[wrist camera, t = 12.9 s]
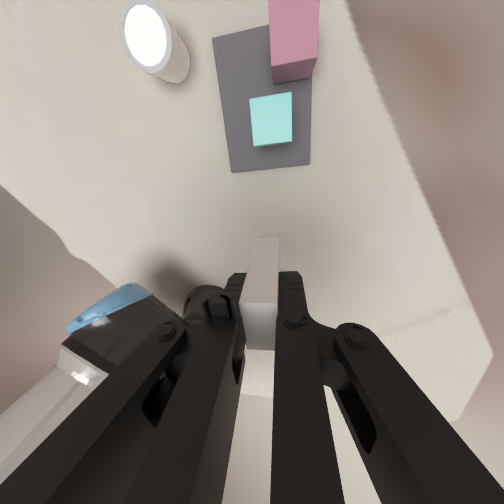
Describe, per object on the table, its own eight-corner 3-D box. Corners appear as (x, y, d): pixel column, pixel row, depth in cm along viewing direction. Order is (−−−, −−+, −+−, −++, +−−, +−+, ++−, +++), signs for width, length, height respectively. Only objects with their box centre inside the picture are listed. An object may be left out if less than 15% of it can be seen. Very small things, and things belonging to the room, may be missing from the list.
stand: (232, 172, 36) (220, 177, 29) (214, 41, 28) (189, 1, 21) (308, 163, 34) (317, 167, 26) (312, 19, 26) (325, -36, 18)
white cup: (182, 98, 32) (158, 86, 26) (145, 67, 31) (112, 46, 25) (201, 52, 29) (180, 25, 23) (162, 16, 28) (128, -23, 22)
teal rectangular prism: (258, 147, 32) (253, 146, 26) (255, 109, 30) (249, 99, 24) (289, 143, 31) (292, 141, 25) (289, 103, 29) (291, 91, 23)
